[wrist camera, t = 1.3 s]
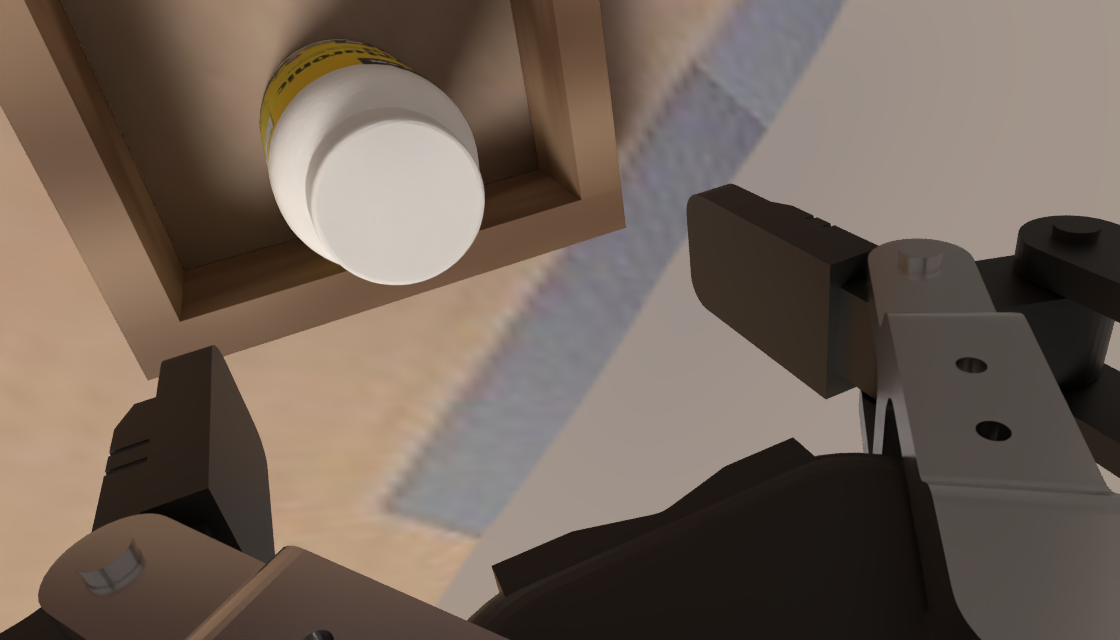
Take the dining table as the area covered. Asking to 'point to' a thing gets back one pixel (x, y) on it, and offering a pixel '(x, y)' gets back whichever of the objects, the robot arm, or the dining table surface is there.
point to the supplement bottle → (371, 162)
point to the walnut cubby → (292, 267)
